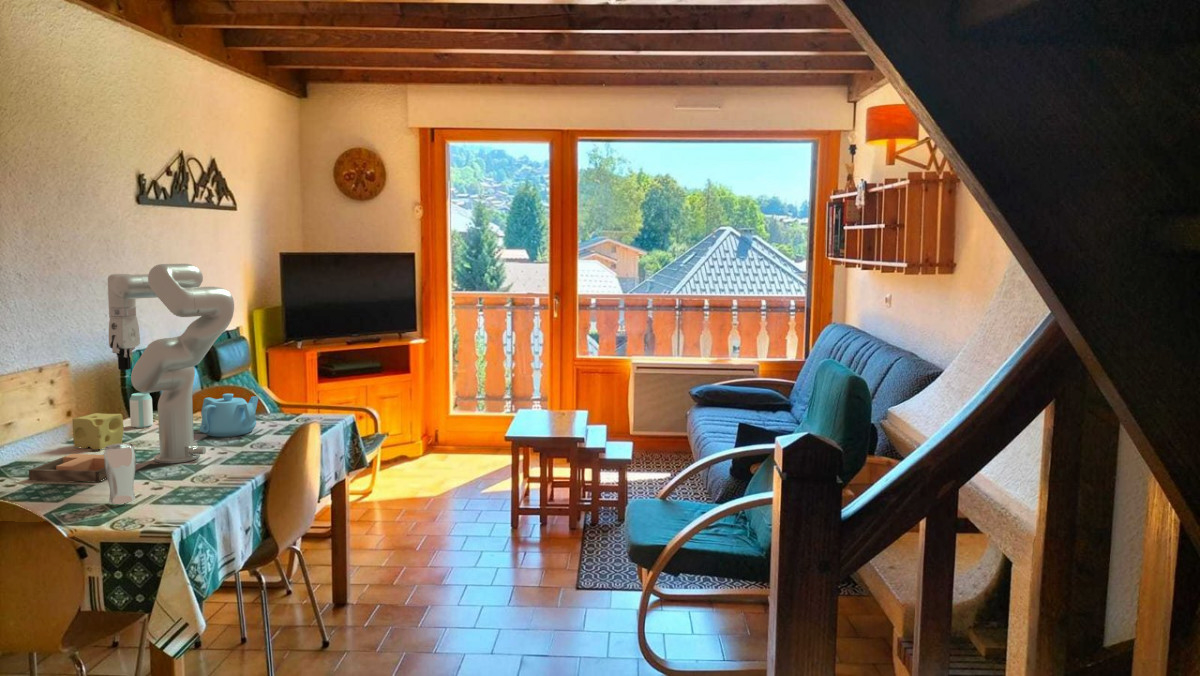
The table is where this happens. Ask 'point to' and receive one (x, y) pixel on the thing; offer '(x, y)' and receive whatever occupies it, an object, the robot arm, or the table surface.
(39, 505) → the table surface
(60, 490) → the table surface
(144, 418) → the can
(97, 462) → the t block
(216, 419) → the teapot
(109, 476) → the beer glass
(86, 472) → the brown wooden rack
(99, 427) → the cheese
